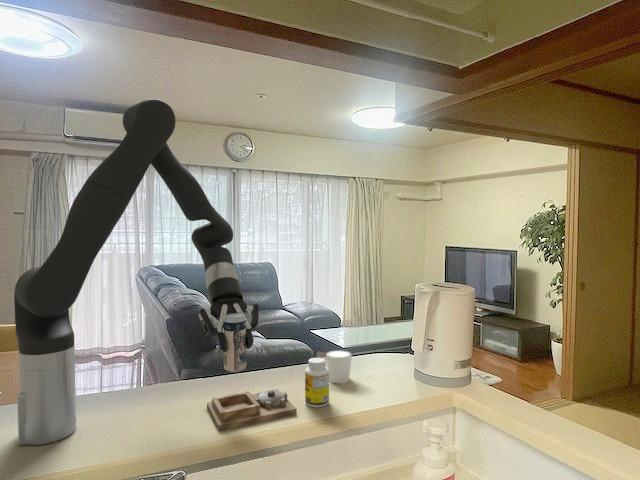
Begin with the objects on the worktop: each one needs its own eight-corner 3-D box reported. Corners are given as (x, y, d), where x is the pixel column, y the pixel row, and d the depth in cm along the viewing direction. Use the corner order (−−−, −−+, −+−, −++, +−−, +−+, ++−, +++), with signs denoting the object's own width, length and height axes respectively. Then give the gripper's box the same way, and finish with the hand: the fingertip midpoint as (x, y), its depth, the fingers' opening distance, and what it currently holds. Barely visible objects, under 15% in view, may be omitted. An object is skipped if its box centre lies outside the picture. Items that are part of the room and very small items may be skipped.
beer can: (241, 374, 89) (240, 318, 88) (220, 372, 90) (219, 317, 89) (249, 366, 93) (249, 313, 93) (229, 364, 94) (229, 312, 94)
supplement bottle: (305, 398, 100) (304, 356, 100) (328, 398, 100) (328, 356, 100) (305, 408, 94) (305, 364, 94) (329, 408, 95) (329, 363, 94)
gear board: (219, 431, 84) (219, 414, 84) (207, 407, 95) (206, 393, 95) (296, 414, 92) (296, 398, 92) (277, 394, 102) (277, 380, 102)
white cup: (352, 384, 109) (352, 357, 109) (326, 384, 109) (326, 357, 109) (350, 374, 116) (350, 349, 116) (326, 374, 116) (326, 349, 116)
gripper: (194, 277, 94) (206, 344, 84) (255, 274, 101) (273, 335, 90) (190, 297, 99) (201, 362, 89) (249, 292, 106) (265, 352, 95)
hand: (237, 348), depth 90 cm, fingers closed on beer can, 4 cm apart
